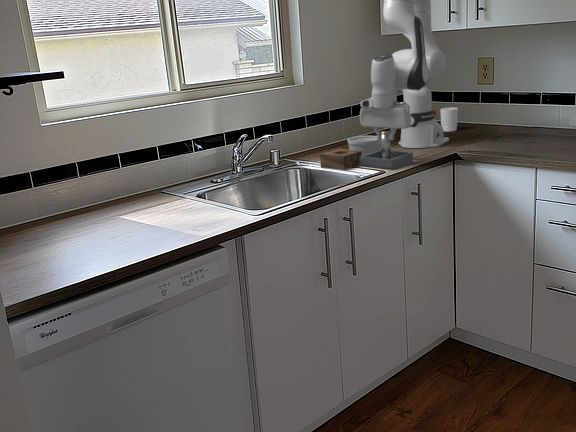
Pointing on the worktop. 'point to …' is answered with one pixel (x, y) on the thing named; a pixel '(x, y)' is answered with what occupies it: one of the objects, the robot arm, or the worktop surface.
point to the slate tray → (386, 160)
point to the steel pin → (385, 145)
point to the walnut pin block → (340, 159)
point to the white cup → (449, 119)
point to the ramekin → (364, 144)
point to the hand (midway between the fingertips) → (385, 139)
